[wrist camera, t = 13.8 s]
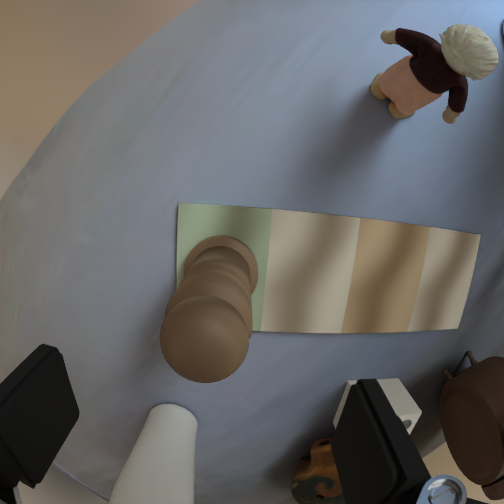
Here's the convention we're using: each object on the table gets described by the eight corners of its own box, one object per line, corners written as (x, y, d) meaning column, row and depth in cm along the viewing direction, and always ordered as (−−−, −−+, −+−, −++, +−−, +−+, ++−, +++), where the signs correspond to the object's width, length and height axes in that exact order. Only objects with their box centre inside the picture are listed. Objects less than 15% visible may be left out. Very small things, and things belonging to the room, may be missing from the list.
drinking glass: (149, 434, 28) (116, 540, 14) (138, 391, 27) (88, 509, 12) (207, 440, 28) (194, 555, 14) (203, 398, 27) (182, 531, 12)
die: (398, 377, 27) (422, 413, 21) (380, 417, 28) (398, 454, 22) (347, 380, 27) (367, 420, 21) (332, 421, 28) (346, 462, 22)
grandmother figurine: (429, 107, 21) (533, 78, 8) (411, 137, 21) (521, 120, 9) (362, 49, 20) (440, -26, 7) (340, 77, 20) (419, 3, 8)
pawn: (260, 237, 23) (278, 304, 11) (254, 306, 24) (262, 417, 12) (186, 232, 23) (125, 291, 10) (185, 301, 24) (139, 404, 12)
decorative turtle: (304, 493, 32) (308, 535, 24) (272, 433, 29) (271, 486, 22) (370, 474, 31) (382, 515, 23) (355, 408, 28) (373, 459, 20)
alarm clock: (470, 405, 29) (539, 495, 10) (428, 429, 30) (491, 533, 10) (481, 323, 26) (595, 417, 6) (434, 349, 26) (545, 474, 7)
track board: (478, 234, 23) (480, 235, 23) (455, 326, 26) (457, 328, 25) (179, 202, 22) (178, 203, 22) (178, 322, 25) (177, 324, 24)
